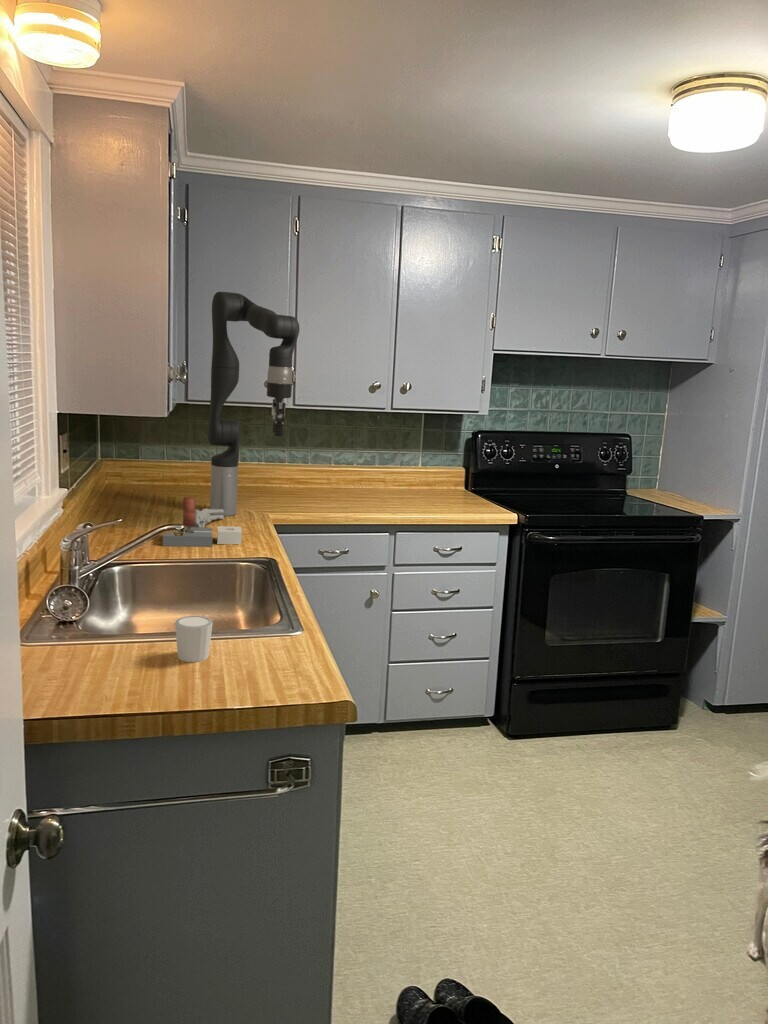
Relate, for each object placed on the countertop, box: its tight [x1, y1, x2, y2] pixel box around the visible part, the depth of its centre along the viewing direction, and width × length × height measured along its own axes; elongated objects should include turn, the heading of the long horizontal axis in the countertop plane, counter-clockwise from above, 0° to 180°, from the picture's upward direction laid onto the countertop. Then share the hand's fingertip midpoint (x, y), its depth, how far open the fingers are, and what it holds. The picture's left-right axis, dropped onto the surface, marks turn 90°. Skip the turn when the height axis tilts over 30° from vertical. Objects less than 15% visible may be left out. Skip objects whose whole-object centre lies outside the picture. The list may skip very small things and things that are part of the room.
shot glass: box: [174, 615, 214, 663], centre depth 145 cm, size 7×7×7 cm
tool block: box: [216, 525, 243, 546], centre depth 232 cm, size 7×7×4 cm
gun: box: [193, 508, 225, 527], centre depth 249 cm, size 2×30×8 cm, turn 175°
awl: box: [182, 496, 196, 533], centre depth 229 cm, size 3×3×13 cm
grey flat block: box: [162, 526, 214, 548], centre depth 230 cm, size 12×14×3 cm
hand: (277, 434), depth 240 cm, fingers open, 8 cm apart
